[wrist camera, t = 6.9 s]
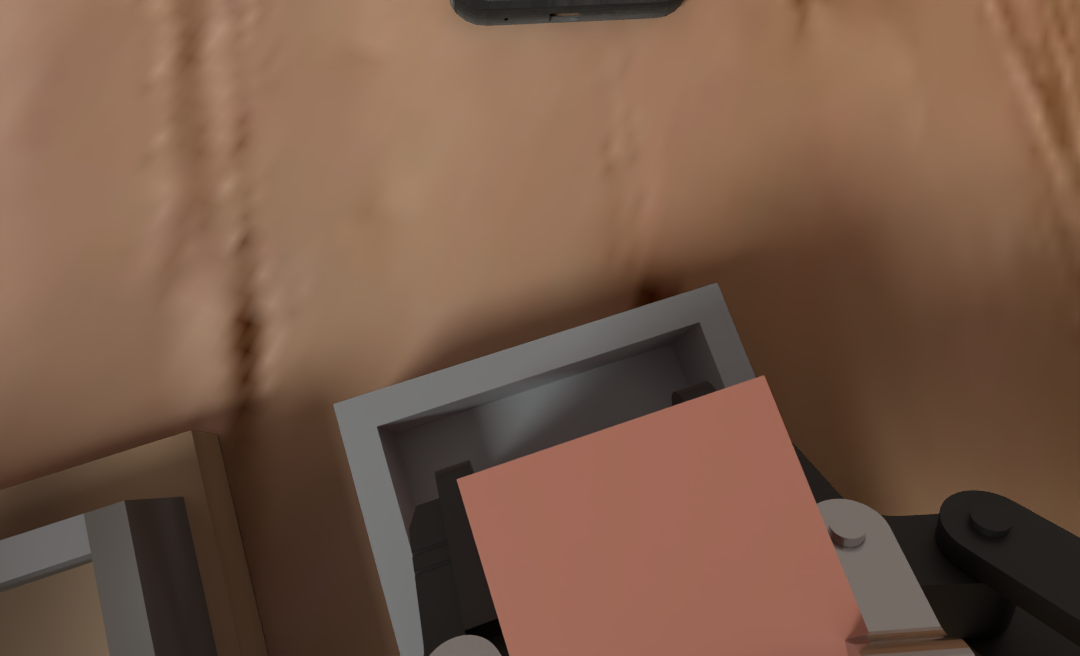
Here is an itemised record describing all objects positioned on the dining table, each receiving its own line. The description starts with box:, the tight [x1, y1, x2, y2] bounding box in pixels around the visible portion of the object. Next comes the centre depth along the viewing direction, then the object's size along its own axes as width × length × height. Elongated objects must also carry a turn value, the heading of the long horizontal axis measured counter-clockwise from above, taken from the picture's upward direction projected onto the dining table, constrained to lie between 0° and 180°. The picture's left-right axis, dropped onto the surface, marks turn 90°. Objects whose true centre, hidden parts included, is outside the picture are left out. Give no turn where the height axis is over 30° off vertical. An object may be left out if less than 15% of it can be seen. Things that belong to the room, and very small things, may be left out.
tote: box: [333, 283, 756, 656], centre depth 16 cm, size 10×10×3 cm
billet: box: [457, 375, 869, 656], centre depth 13 cm, size 4×4×9 cm
